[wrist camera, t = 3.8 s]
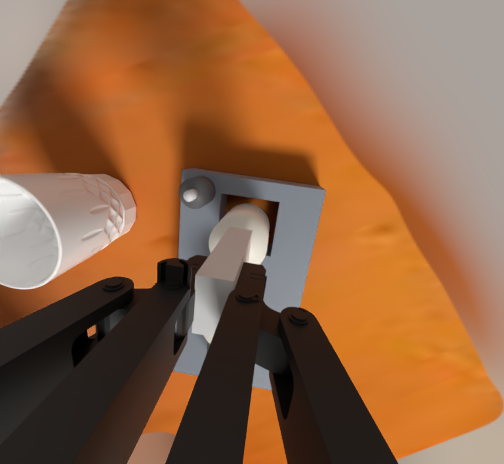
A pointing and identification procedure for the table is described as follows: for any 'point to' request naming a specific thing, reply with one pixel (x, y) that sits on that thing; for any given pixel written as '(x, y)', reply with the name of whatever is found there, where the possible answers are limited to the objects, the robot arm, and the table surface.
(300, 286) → the grey egg holder
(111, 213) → the white cup
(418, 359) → the table surface
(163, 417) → the table surface
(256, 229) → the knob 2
